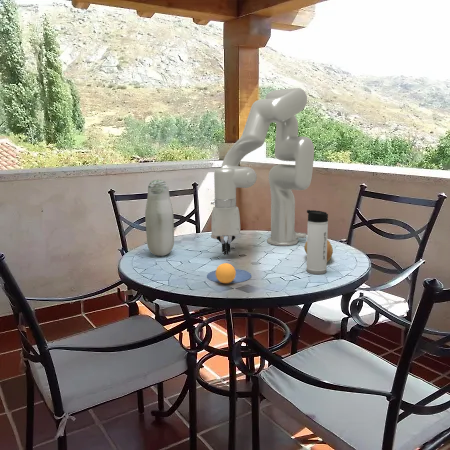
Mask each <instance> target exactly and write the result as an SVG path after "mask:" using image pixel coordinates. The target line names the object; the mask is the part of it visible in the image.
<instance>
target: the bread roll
mask: <svg viewBox="0 0 450 450" xmlns="http://www.w3.org/2000/svg"><path fill="white" fill-rule="evenodd" d="M304 251H305V253H306V255H307V240H306V242H305V244H304ZM333 253H334V248H333V245H332V243H331V242H330V241H329V239H327V263H328V262H329V261H330V260H331V259H332V256H333V255H334V254H333Z"/></svg>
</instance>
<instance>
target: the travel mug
mask: <svg viewBox="0 0 450 450" xmlns="http://www.w3.org/2000/svg"><path fill="white" fill-rule="evenodd" d="M306 214H307V226H306V227H307V228H306V229H307V231H306V232H307V233H306V241H307V254H306V272H307V274H308V273H309V274H311V275H324V274H326V273H327V264H328V262H327V240H328V233H329V231H328V228H329V213H327V212H326V211H323V210H314V209H313V210H312V209H307V210H306Z"/></svg>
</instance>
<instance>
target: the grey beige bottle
mask: <svg viewBox="0 0 450 450" xmlns="http://www.w3.org/2000/svg"><path fill="white" fill-rule="evenodd" d="M146 199H147V200H146V205H145V213H144V215H145V217H144V218H145V232H146V233H145V234H146V235H145V236H146V244H147V248H148V250H149V252H150V253H151V254H153V255H155V256H157V257H158V256H159V257H160V256H161V257H163V256H166V255H169V254H170V253H171V252H172V250H173V248H174V246H175V229H174V228H175V225H174V224H175V223H174V221H175V220H174V219H175V217H174V210H173V206H172V201H171V197H170V189H169V185H168V183H167V182H166V181H165V180H162V179H154V180H151V181H150V183H149V184H148V186H147V198H146Z"/></svg>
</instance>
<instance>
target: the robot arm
mask: <svg viewBox="0 0 450 450" xmlns="http://www.w3.org/2000/svg"><path fill="white" fill-rule="evenodd" d="M307 103H308V95H307V93H306V91H304V89H302V88H300V87H292V88H283V89H282V88H281V89H276V90H271V91H268V93H266V95H265V98H263V99H257V100H255V101H254V102H253V103H252V105H251V107H250V110H249V113H248V116H247V119H246V122H245V125H244V128H243V132H242V133H241V137H240V138H239V139H237V141H236V142H235V143H233V145H232V146H231V147H230V149H228V150H227V152H226V154H225V156H224V158H223V160H222V164H221V166H220V168H216V169H214V171H213V172H214V174H213V175H214V176H213V177H214V180H213V182H214V183H213V184H214V199H213V200H210V205H212V206H213V205H214V206H213V207H212V209H211V210H212V211H211V224H210V225H211V234H210V238H211V239H214V240H218V241H219V243H221V253H223V255H224V256H225V255H230V254H229V253H230V252H231V244H232V242H233V241H235V240H236V239H237V240H238V239H240V238H241V237H242V235H241V217H240V210H239V207H238V206H237V188H241V189H248V188H251V187H253V186H254V185H255V183H256V181H257V178H258V176H257V172H256V171H255V170H254V168H252V167H249V166H239V164H240V162H241V161H242V160H243V159H244V158H245V157H246V156H247V155H248V154H251V153H252V152H254V151H255V150H257V149H260V148H262V146H263V145H264V144H265V140H266V137H267V134H268V131H269V128H270V125H271V124H272V123H275V126H276V128H275V129H276V130H275V142H274V144H275V145H274V156H275V158H276V159H277V160H279V161H283V162H295V164H284V163H283V164H282V163H281V164H277V165H274V166H272V167H271V168H270V170H269V173H268V183H269V187H270V188H269V189H270V237H267V240H266V242H267V243H268V244H269V245H273V246H280V247H281V246H285V247H286V246H294V245H297V244H298V243H299V239H307V233H306V232H296V230H295V222H296V220H295V219H296V217H295V216H296V215H295V213H296V212H295V211H296V199H295V195H294V193H293V190H294V191H305V190H307V189H308V188H309V187H310V185H311V182H312V178H313V177H312V176H313V168H314V160H315V159H314V158H315V147H314V143H313V141H312V139H311V138H309V137H307V136H299V122H298V119H297V117H296V115H297V114H299V113H301V112H302V111H303V110H304V109H305V108H306V106H307ZM224 237H227V240H225V238H224Z"/></svg>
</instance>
